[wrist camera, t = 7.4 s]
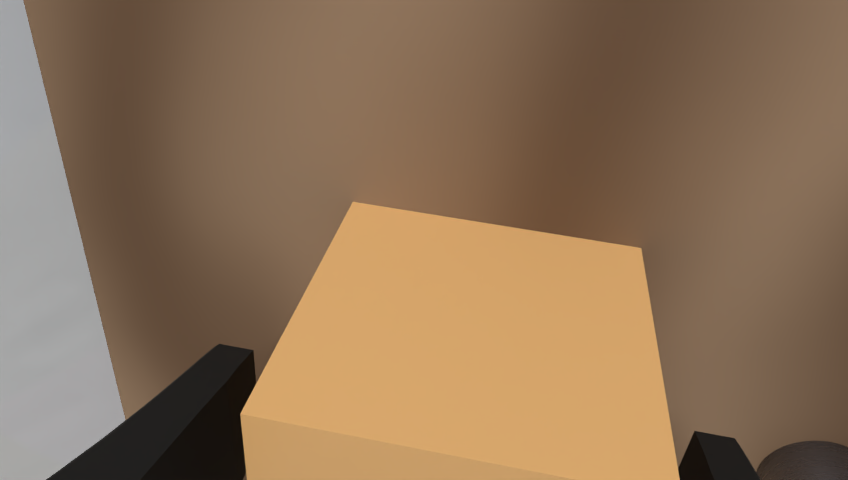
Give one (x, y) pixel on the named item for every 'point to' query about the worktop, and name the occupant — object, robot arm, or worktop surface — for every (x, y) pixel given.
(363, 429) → the peach wooden cube
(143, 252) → the walnut board
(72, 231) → the worktop surface
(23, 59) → the worktop surface
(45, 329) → the worktop surface
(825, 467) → the dark post
